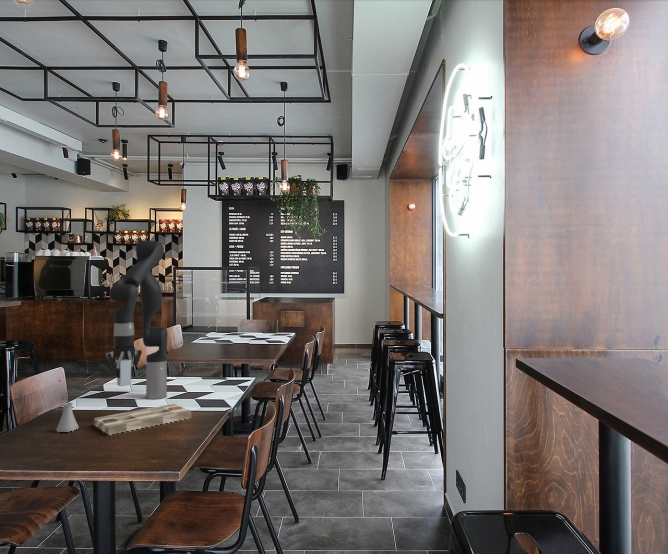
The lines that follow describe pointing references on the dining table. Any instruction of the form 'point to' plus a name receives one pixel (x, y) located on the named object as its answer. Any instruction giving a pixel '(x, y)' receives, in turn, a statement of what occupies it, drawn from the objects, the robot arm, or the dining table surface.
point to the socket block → (141, 418)
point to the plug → (124, 373)
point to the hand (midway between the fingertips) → (124, 376)
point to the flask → (67, 419)
